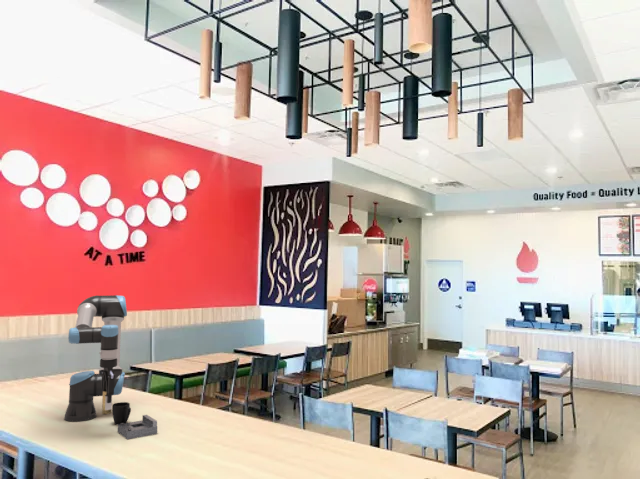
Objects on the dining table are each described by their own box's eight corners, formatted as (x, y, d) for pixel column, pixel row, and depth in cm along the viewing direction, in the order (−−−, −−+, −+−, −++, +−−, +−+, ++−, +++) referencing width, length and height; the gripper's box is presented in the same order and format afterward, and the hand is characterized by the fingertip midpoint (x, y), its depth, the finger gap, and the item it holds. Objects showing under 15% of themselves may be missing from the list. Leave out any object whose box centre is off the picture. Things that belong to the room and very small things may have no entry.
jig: (117, 431, 247) (118, 419, 247) (146, 426, 256) (147, 414, 256) (127, 439, 236) (127, 425, 236) (157, 433, 245) (157, 420, 245)
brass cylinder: (100, 412, 243) (101, 391, 244) (109, 411, 246) (110, 390, 246) (103, 414, 240) (104, 392, 241) (112, 413, 243) (113, 391, 243)
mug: (120, 428, 253) (121, 408, 254) (108, 423, 261) (109, 404, 262) (136, 424, 259) (136, 405, 260) (123, 420, 267) (124, 401, 268)
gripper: (95, 356, 249) (93, 405, 247) (105, 362, 235) (103, 414, 234) (111, 354, 253) (109, 403, 252) (122, 360, 240) (120, 411, 239)
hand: (106, 408), depth 243 cm, fingers closed on brass cylinder, 4 cm apart
